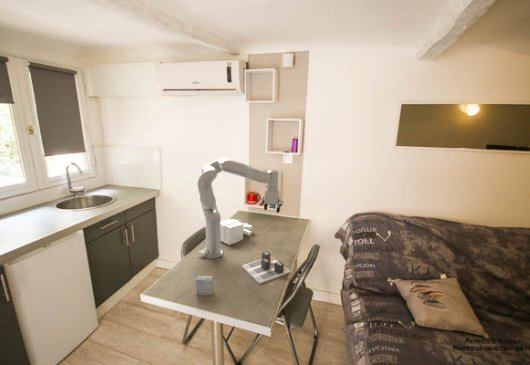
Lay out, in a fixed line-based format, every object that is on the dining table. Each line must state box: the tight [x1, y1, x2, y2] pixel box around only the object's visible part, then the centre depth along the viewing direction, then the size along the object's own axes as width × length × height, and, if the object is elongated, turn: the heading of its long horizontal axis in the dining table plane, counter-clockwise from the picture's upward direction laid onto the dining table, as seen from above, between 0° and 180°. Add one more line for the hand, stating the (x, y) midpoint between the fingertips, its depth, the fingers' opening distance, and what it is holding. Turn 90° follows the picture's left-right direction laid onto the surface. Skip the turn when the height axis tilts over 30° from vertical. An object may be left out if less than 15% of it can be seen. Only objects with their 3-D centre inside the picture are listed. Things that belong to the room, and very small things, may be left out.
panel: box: [241, 250, 291, 285], centre depth 153 cm, size 22×20×6 cm
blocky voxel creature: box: [220, 218, 253, 246], centre depth 194 cm, size 15×25×28 cm
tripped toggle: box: [260, 258, 270, 270], centre depth 153 cm, size 4×4×5 cm
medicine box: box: [195, 275, 214, 296], centre depth 131 cm, size 8×4×9 cm, turn 92°
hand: (271, 211), depth 178 cm, fingers open, 9 cm apart
